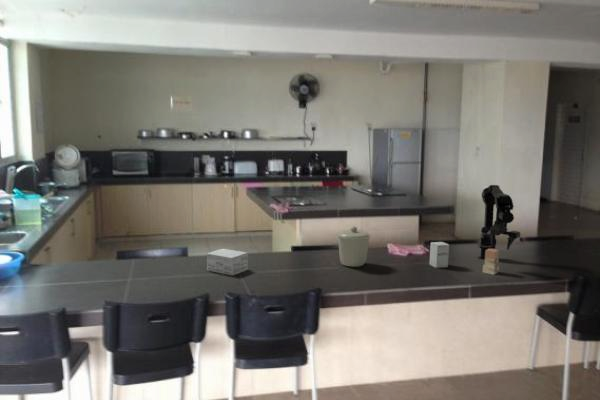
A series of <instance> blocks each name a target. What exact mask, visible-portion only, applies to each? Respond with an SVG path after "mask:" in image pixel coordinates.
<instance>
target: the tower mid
mask: <svg viewBox="0 0 600 400" xmlns="http://www.w3.org/2000/svg"><path fill="white" fill-rule="evenodd" d="M499 259H500V258H499V257H498V258H496V259H490V258H485V259H484V264H485V265H487V266H491V267H495V266H497V265H499Z"/></svg>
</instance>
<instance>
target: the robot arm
mask: <svg viewBox="0 0 600 400" xmlns="http://www.w3.org/2000/svg"><path fill="white" fill-rule="evenodd" d="M481 199H482V202H483V204H484V221H483V222H484V226H483V227H482V228H481V230H480V231H481V232H480V233H481V234H480V237H479V239H478V242H477V247H478V248H479V249H480V255H479V256H478V257H477V258H478V259H482V260H485V251H486V250H487V249H495V250H496V245H497V242H498V241H497V238H496V236H497V237H498V236H500V235H506V236H508V237H507V244H506V249H507V251H509V249H510V248H511V246H512V245H513V242H514V241H515V240H516V239H518V238H520V237H521V232H520V231H519V230H517V231H516V230H510V231H508V224H510V223H512V222H513V221H514V219H515V215H514V214H513V212H511V211H513V210H514V202H513V198H512V197H511V196H510V195H509V194H507V193H504V192H503V190H502V189H501V187H500V185H498V184H490V185H488V187H486V188H484V189H483V190H482V191H481ZM495 208H496V211H495V212H496V214H495V220H494V209H495Z"/></svg>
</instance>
